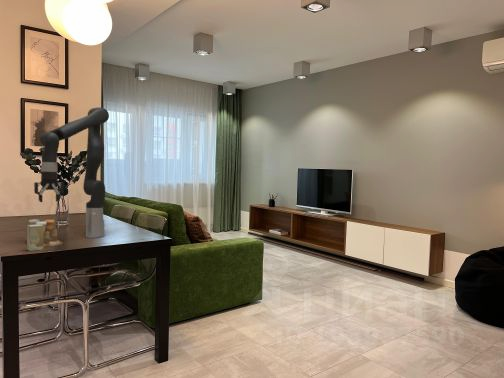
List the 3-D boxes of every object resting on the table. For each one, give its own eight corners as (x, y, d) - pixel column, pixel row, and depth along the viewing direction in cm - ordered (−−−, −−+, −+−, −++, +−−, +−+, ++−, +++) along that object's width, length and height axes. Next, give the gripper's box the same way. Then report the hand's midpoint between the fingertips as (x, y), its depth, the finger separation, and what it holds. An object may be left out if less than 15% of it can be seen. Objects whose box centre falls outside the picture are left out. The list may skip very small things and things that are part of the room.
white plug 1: (38, 232, 202) (38, 218, 201) (40, 233, 198) (40, 220, 198) (28, 233, 199) (28, 219, 198) (30, 234, 195) (30, 220, 195)
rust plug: (53, 232, 202) (52, 219, 202) (55, 234, 199) (55, 220, 198) (43, 233, 199) (43, 220, 199) (45, 234, 196) (45, 221, 195)
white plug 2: (45, 234, 196) (45, 221, 195) (47, 236, 192) (47, 222, 192) (34, 235, 192) (34, 221, 192) (37, 237, 189) (37, 223, 188)
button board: (52, 239, 208) (52, 226, 208) (62, 244, 196) (62, 231, 195) (26, 241, 199) (26, 228, 199) (34, 247, 187) (34, 234, 186)
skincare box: (29, 251, 179) (29, 226, 179) (26, 249, 182) (26, 225, 182) (44, 249, 184) (44, 225, 183) (40, 247, 187) (40, 223, 186)
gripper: (61, 170, 204) (61, 200, 205) (32, 170, 195) (32, 201, 196) (66, 171, 199) (65, 202, 200) (35, 170, 189) (35, 203, 190)
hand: (49, 201), depth 198 cm, fingers open, 7 cm apart
